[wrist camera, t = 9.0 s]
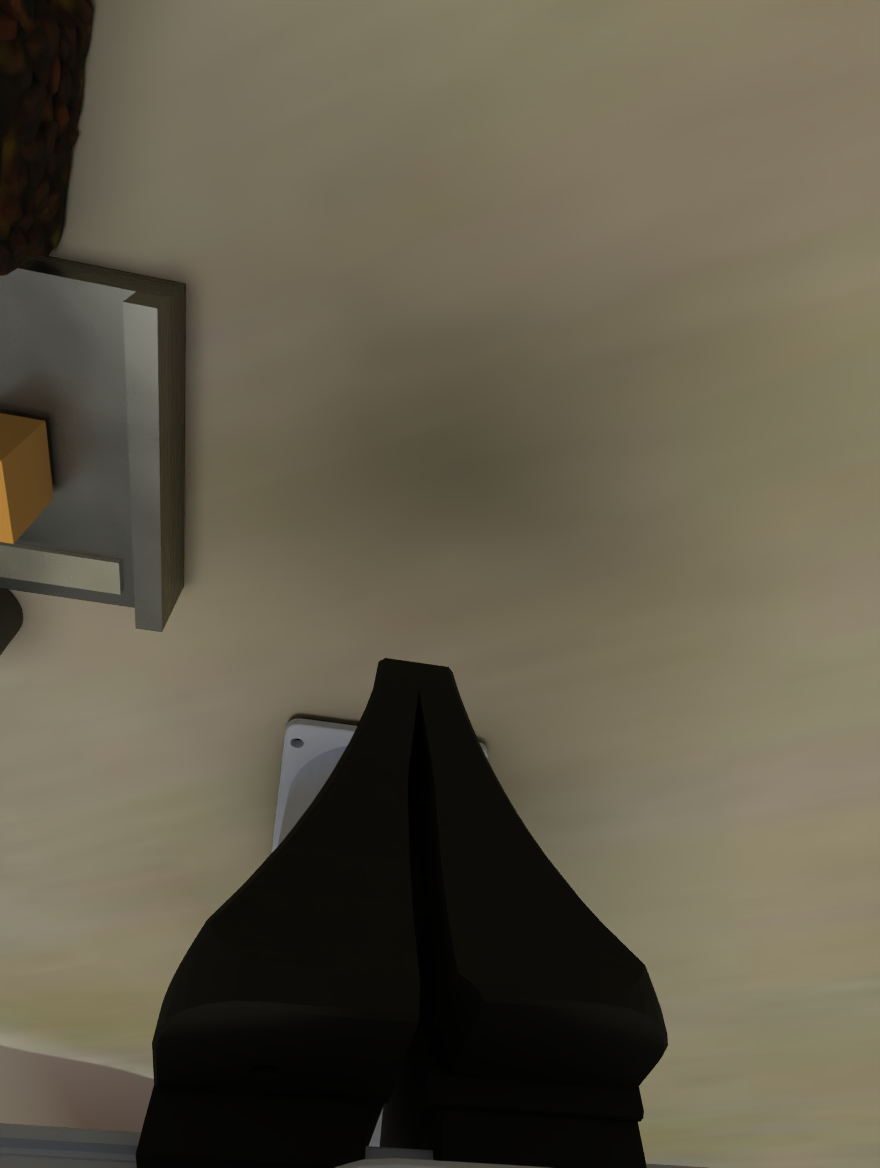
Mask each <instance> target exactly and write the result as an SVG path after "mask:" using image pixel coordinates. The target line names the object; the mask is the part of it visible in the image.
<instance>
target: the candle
mask: <svg viewBox="0 0 880 1168" xmlns="http://www.w3.org/2000/svg"><path fill="white" fill-rule="evenodd" d="M91 20H92V6H91V3H90V0H0V276H3V275H8V274H9V273H11V272H12V271H14V270H16V269H17V268H19V267H20V266H21V265H22V263H23V262H24V260H25V259H26V257H27V256H31V257H34V258H35V257H42V256H48V255H49V254H50V252H51V251H52V249H53V248H54V246H55V245H56V244H57V243H58V242H59V239H60V235H61V231H62V227H63V217H64V208H65V199H66V190H67V182H68V174H69V166H70V151H71V149H72V147H73V145H74V143H75V140H76V138H77V136H78V133H77V129H76V125H77V121H78V117H79V113H80V107H81V97H82V83H83V62H84V59H85V56H86V52H87V49H88V44H89V37H90V29H91Z"/></svg>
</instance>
